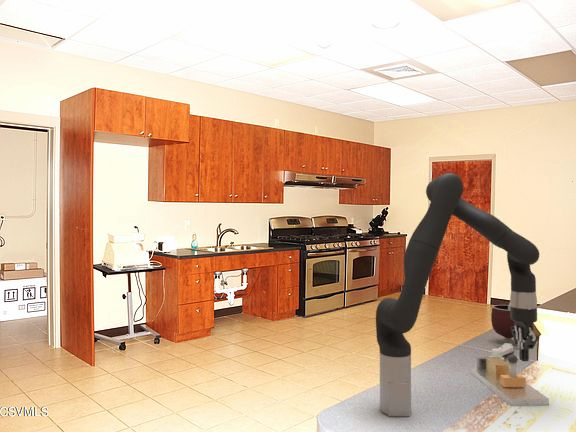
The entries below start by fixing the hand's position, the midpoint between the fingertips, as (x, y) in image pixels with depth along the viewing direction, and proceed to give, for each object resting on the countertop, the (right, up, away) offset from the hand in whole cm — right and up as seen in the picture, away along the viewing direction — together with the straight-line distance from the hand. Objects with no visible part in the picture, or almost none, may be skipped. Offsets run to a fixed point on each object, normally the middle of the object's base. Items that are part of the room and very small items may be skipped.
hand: (524, 360), depth 147 cm
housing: (0, -11, +18) cm, 21 cm away
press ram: (0, -11, +7) cm, 13 cm away
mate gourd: (+25, -13, +64) cm, 70 cm away
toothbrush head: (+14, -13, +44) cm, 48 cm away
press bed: (0, -13, +12) cm, 17 cm away
